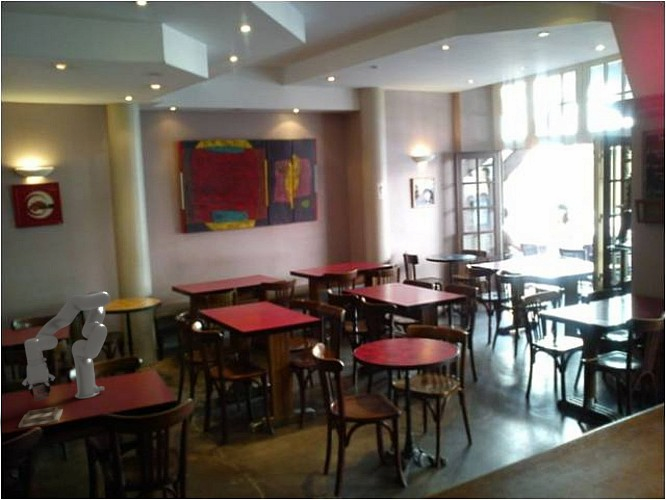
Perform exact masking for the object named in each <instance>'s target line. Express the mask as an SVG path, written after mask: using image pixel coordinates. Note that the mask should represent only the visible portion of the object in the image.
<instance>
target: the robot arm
mask: <svg viewBox="0 0 666 500" xmlns="http://www.w3.org/2000/svg"><path fill="white" fill-rule="evenodd" d="M110 302H111V295H110V293H109V292H107V291H104V290H103V291H102V290H96V289H95V290H94V289H93V290H89V291H88V292H87V293H86V294H73V295H71V296H70V297H69V298H68V300H67V301H66V302H65V303H64V305H63V306H62V307H61V309H60V311H59V312H58V313H57V314H56V315H55V316H54V317H53V318H51V319H50V320H49V321H48V322H46V323H45V324H44V325H43V326H42V327H41V328H40V330H39V331H38V333H37V334H36V336H35V337H32V338H28V339H26V340H24V348H25V355H26V360H27V361H26V362H27V365H26V378H25V379H24V380H23V381H22V383H21V384H22V385H23V386H25V388H28V390H29V391H30V395H31V396H32V397H34V394H33V389H32V386H34V383H42V382H45V384H46V385H47V386H46V389H47V394H49V395H50V392H51V384H52V383H53V382H54V380H55V379H56V377H55V376H54V375H53V374H51V373H50V372H49V369H48V365H47V363H46V361H47V357H44V355H43V351H48V350H53V349H55V348H56V347H57V345H58V343H59V342H58V341H59V340H58V338H57V337H56V336H54V334H56V332H58V331H59V330H61V329H63V328H65V327H68V326H69V325H70V324H72V323H73V321H74V319H75V318H77V315H78V314H79V313H80V311H89V313H88V316H87V318H86V320H85V323H84V325H83V327H82V329H81V334H82V336H83V337H84V338H86V339H87V340H85V339H78V340H76V341H75V342H74V343H73V344H72V347H71V354H72V357H73V361H74V368H75V377H76V378H75V379H76V386H77V387H76V388H77V393H76V394H75V396H74V397H75V398H76V399H80V400H81V399H82V400H83V399H90V398H93V397H96V396H98V395H99V394H100V391H105V386H101V385H100V386H98V385H97V384H96V378H95V377H96V376H95V369H94V367H95V366H94V360H93V359H95V358H97V357H98V355H99V353H100V352H101V350H102V348H103V345H104V343H105V341H106V338H107V335H108V329H107V326H106V325H105V324H104V323H103V322H104V319H105V316H106V308H105V307H106V306H107V305H109V304H110ZM49 379H50V380H49Z"/></svg>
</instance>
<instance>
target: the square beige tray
mask: <svg viewBox="0 0 666 500" xmlns="http://www.w3.org/2000/svg"><path fill="white" fill-rule="evenodd" d="M63 412H64V409H63V408H62V409H61V408H60V409H59V407H58V406H53V407H46V408H39V409H32V410H28V411H27V413H26V414H24V415H23V417H22V418H21V420H20V422H19V424H18V428H19V429H20V428H26V427H27V428H28V427H32V426H33V427H34V426H38V425H40V426H41V425H45V424H52V423H58V422H59V421H60V419H61V417H62V414H63Z"/></svg>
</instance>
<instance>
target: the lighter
mask: <svg viewBox="0 0 666 500" xmlns="http://www.w3.org/2000/svg"><path fill="white" fill-rule="evenodd" d="M46 386H47V385H46V384H45V382H42V383H34V384H33V386H32V389H33V394H34V396H33V400H34V401H33V402H37V401H41V400H44V399H46V398H48V397H49V396H50V393H49V394H47V389H46Z"/></svg>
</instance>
